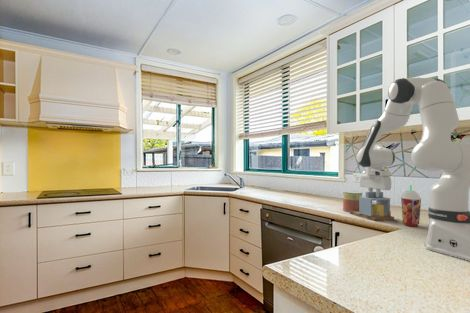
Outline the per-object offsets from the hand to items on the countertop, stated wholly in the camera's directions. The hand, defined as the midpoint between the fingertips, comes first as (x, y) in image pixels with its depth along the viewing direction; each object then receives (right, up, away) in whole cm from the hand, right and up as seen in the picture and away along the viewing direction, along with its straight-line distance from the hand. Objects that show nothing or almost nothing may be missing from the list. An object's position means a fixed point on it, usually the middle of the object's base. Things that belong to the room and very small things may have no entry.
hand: (374, 196), depth 150 cm
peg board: (-1, -12, +2) cm, 12 cm away
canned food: (-4, -12, +19) cm, 23 cm away
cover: (0, -10, 0) cm, 10 cm away
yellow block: (+1, -10, -3) cm, 11 cm away
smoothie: (+9, -12, -18) cm, 23 cm away
